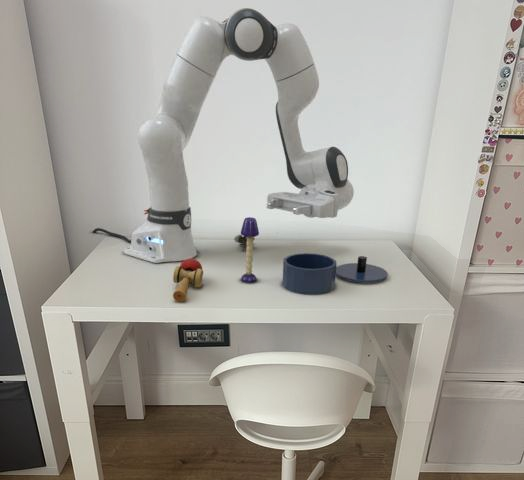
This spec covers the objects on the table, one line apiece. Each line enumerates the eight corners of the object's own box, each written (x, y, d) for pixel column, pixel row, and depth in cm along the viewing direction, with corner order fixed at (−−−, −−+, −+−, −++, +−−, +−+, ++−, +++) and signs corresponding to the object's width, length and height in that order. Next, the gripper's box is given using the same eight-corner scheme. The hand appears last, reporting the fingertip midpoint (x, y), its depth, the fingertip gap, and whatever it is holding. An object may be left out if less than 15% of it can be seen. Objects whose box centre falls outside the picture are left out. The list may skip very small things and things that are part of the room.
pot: (274, 288, 129) (274, 264, 126) (294, 273, 140) (295, 250, 137) (323, 298, 124) (325, 273, 121) (341, 281, 134) (343, 258, 131)
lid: (326, 279, 136) (328, 260, 134) (343, 264, 148) (345, 246, 145) (379, 288, 130) (382, 269, 128) (392, 272, 142) (395, 254, 139)
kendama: (199, 307, 120) (210, 272, 135) (192, 284, 117) (204, 251, 131) (168, 311, 121) (182, 276, 136) (161, 288, 118) (176, 255, 132)
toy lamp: (261, 280, 134) (262, 217, 126) (252, 285, 131) (252, 221, 123) (246, 276, 136) (246, 215, 128) (237, 281, 133) (236, 218, 125)
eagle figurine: (261, 248, 156) (263, 235, 163) (248, 230, 153) (251, 218, 160) (241, 259, 159) (244, 246, 166) (228, 241, 156) (232, 229, 163)
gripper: (285, 184, 147) (253, 191, 138) (343, 194, 135) (312, 201, 126) (285, 206, 150) (253, 214, 141) (341, 218, 138) (310, 226, 129)
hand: (281, 208), depth 133 cm, fingers open, 8 cm apart
